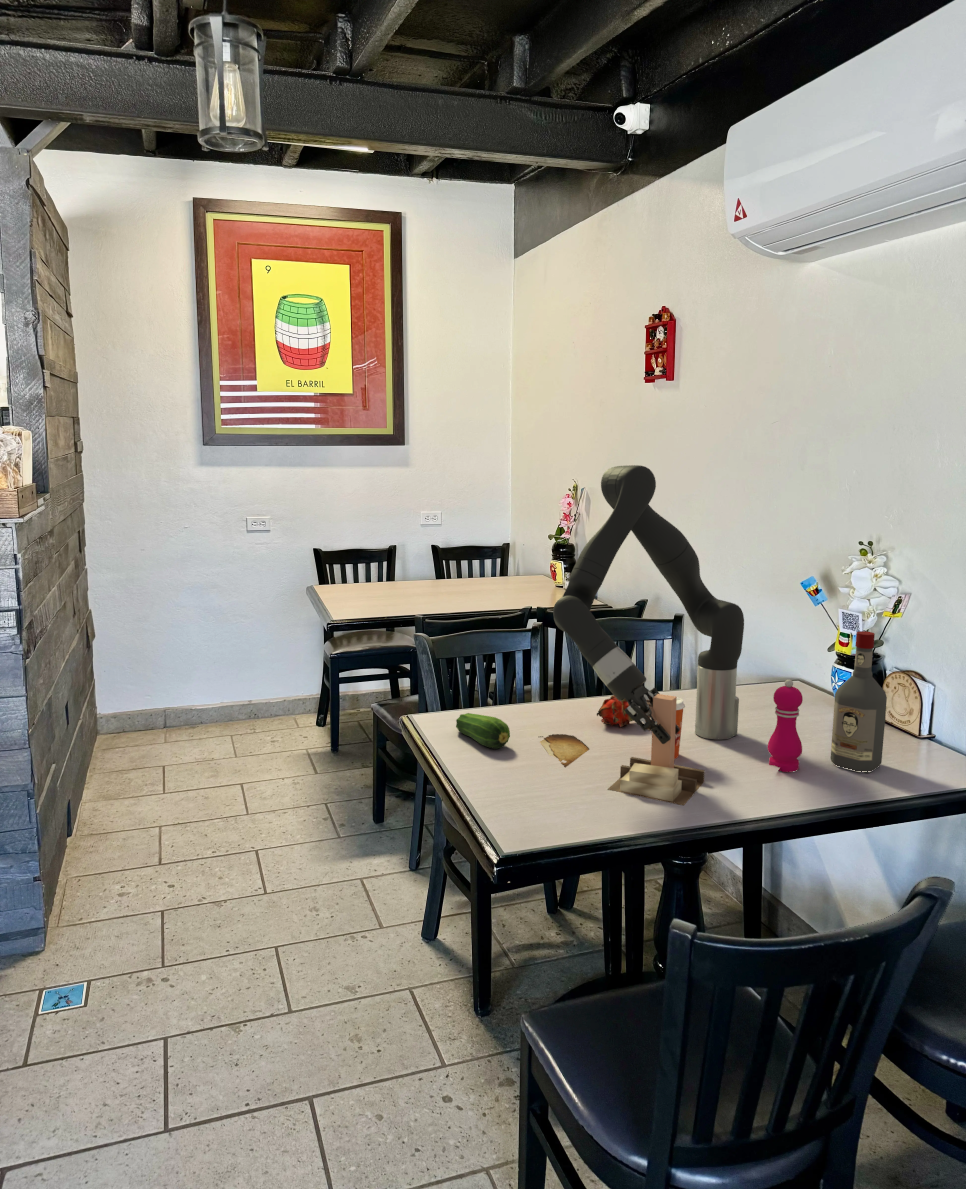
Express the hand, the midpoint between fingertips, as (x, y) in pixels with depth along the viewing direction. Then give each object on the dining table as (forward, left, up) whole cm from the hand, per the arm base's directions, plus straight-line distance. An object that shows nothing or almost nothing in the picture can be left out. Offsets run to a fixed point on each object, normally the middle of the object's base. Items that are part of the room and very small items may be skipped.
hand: (671, 737), depth 183 cm
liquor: (-45, +3, -11) cm, 47 cm away
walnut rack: (+4, +1, -11) cm, 11 cm away
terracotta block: (+1, -1, -10) cm, 10 cm away
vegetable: (+28, -40, -11) cm, 50 cm away
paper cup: (-7, -14, -11) cm, 19 cm away
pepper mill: (-29, -1, -11) cm, 31 cm away
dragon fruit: (-8, -39, -11) cm, 41 cm away
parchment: (+12, -25, -11) cm, 30 cm away
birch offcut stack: (+6, +3, -10) cm, 12 cm away
